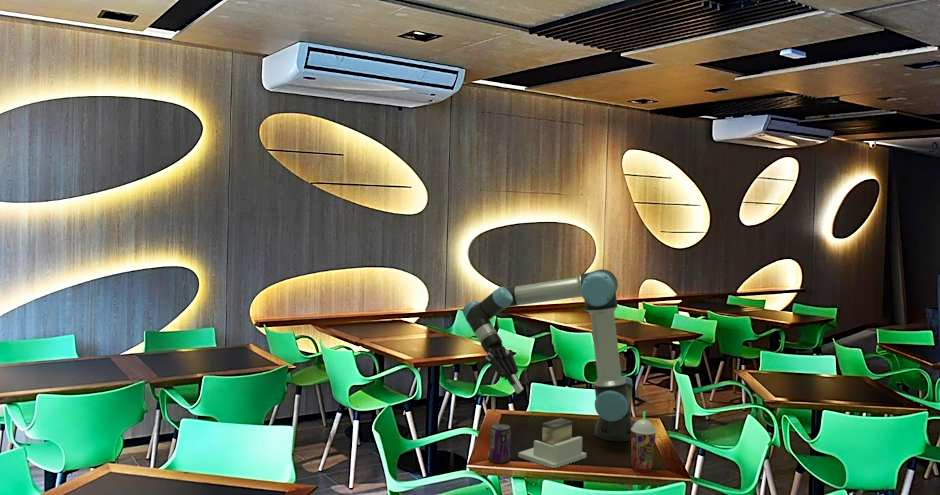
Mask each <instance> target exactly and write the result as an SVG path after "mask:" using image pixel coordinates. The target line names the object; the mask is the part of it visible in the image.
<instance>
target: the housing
mask: <svg viewBox="0 0 940 495" xmlns="http://www.w3.org/2000/svg"><path fill="white" fill-rule="evenodd" d="M517 454H518V458H521V459H522V460H526V461H529V462H532V463H534V464H536V465H537V464H538V465H541V466H543V465H544V466H543V467H546V466H547V467H546V468H549V467H551V468H556V469H558V468H557V467H559V468H561V467H560V466H562V467H563V465H564V466H567V465H570V464H572V462H573V463H576V462H577V461H581V460H583V459H585V458H586V459H587V455H588V454H587V452H584V451H583V436H580V435H579V436H575V437H572V438H571V439H569V440H566V441H563V442H560V443H557V444H554V445H553V446H552V445H549V444H546V443H543V442H542V441H540V440H536V439H535V440H533V447H531V448H529V449H525V450H522V451H519V452H518V453H517ZM569 463H570V464H569ZM566 464H567V465H566ZM551 468H550V469H551Z"/></svg>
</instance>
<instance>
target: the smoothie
mask: <svg viewBox="0 0 940 495" xmlns="http://www.w3.org/2000/svg"><path fill="white" fill-rule="evenodd" d="M656 434H657V429H656V428H655V425H654V424H653V423H652V422H651V421H650V420H649V419H646V411H644V410H643V414H642V418H641V419H638V420H635V422H634V423H633V426H632V428H631V440H630V444H631V446H630V447H631V450H630V452H631V466H632V469H633V470H634V471H636V472H639V473H648V472H650V471H651V469H652V468H653V461H654V454H655V453H654V452H655V444H656V443H655V442H656V437H657V435H656Z"/></svg>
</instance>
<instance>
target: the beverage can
mask: <svg viewBox="0 0 940 495" xmlns="http://www.w3.org/2000/svg"><path fill="white" fill-rule="evenodd" d="M511 438H512V430H511V426H510V425H508V424H506V423H505V424H504V423H495V424H492V426H491V429H490V432H489V460H491V461H493V462H494V463H497V464H504V463H506V462H509V461H510V460H511V446H512V445H511V442H512V440H511Z"/></svg>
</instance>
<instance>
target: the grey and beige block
mask: <svg viewBox="0 0 940 495" xmlns="http://www.w3.org/2000/svg"><path fill="white" fill-rule="evenodd" d="M573 423H574V422H573V421H572V420H569V419H566V418H562V417H560V418H556V419H553V420H550V421H549V420H548V421H546V422H543V423H541V424H542V426H541V427H542V433H541V435H542V438H541V442H543V443H546V444H549V445H552V446H553V445H554V444H557V443H560V442H563V441H566V440H569V439H571V438H572V433H573Z"/></svg>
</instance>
